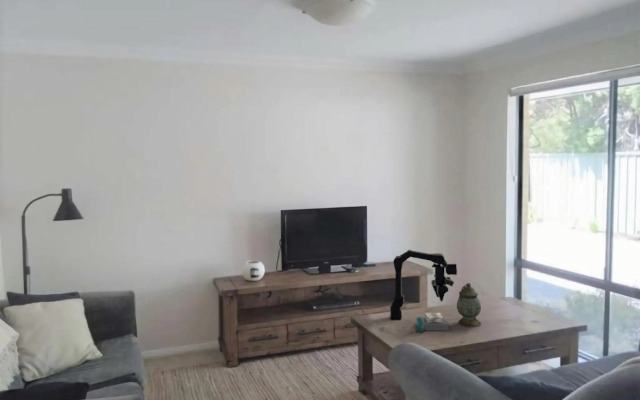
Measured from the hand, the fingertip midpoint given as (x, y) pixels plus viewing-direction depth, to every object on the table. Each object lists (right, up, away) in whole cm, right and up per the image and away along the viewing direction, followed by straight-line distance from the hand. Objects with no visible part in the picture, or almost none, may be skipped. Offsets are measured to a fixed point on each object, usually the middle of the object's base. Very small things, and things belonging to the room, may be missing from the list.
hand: (439, 299), depth 306 cm
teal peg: (-16, -16, -18) cm, 28 cm away
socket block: (-6, -15, -9) cm, 18 cm away
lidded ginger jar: (+16, -14, -5) cm, 22 cm away
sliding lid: (-6, -11, -9) cm, 15 cm away
